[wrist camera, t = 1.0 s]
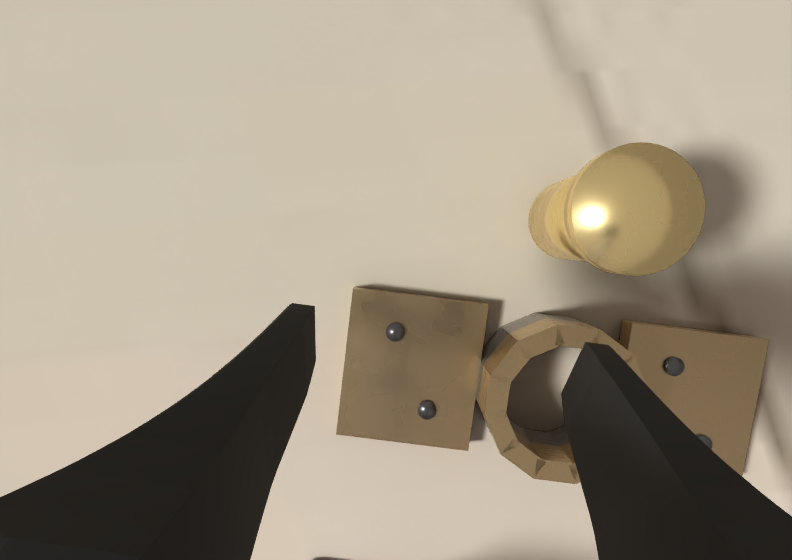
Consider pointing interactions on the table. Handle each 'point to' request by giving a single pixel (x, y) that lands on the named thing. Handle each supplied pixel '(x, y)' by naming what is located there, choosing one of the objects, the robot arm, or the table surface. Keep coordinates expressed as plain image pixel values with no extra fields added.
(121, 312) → the table surface
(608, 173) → the hinge pin
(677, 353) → the hinge
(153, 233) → the table surface
